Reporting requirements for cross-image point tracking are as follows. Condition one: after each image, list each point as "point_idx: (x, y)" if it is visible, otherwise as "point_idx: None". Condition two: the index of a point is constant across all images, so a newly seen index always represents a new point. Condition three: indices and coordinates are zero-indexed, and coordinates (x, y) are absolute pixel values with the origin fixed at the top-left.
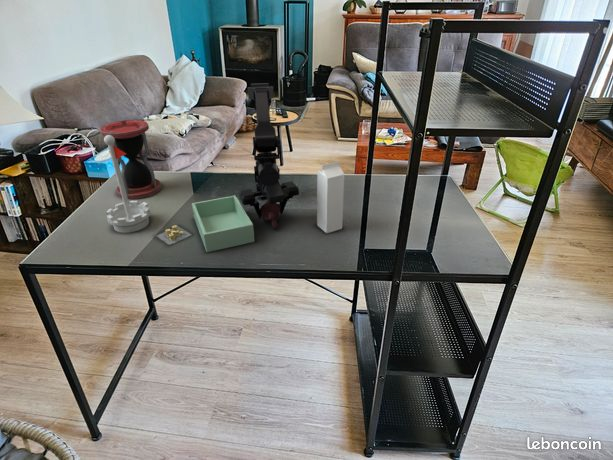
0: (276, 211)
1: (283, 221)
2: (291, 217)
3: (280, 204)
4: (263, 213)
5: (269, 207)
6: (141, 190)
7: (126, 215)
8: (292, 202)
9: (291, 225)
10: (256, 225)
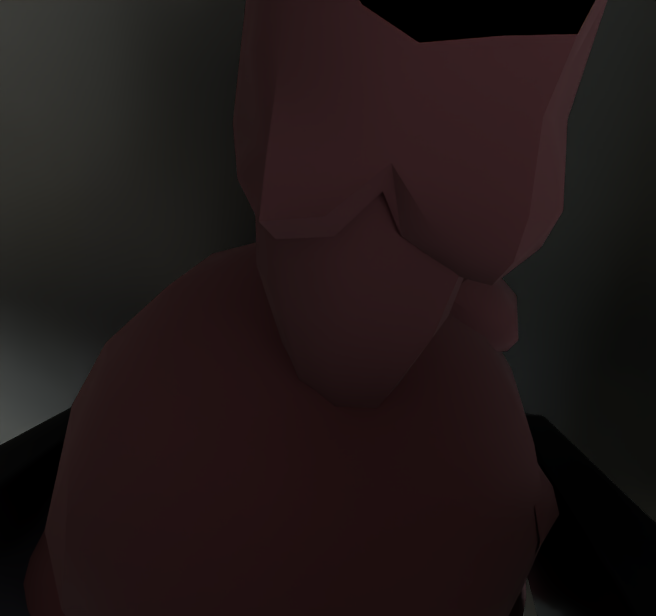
0: (133, 378)
1: (149, 257)
2: (27, 314)
3: (17, 583)
4: (530, 466)
5: (303, 607)
6: None
7: None
8: None
9: (19, 64)
10: (618, 321)
